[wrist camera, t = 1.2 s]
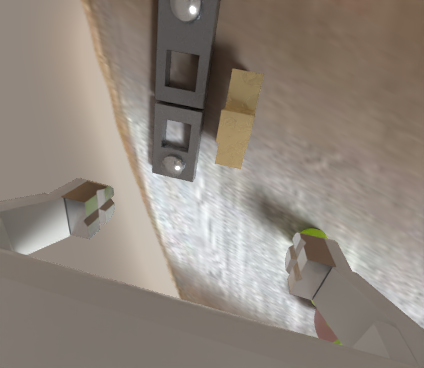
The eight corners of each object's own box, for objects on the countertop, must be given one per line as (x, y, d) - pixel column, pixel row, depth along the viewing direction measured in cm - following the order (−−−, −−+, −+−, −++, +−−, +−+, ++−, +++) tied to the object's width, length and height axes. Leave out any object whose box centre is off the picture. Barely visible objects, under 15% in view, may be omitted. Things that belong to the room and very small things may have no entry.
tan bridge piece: (236, 70, 32) (229, 66, 23) (262, 75, 32) (265, 73, 23) (221, 150, 38) (210, 173, 29) (242, 155, 38) (238, 180, 29)
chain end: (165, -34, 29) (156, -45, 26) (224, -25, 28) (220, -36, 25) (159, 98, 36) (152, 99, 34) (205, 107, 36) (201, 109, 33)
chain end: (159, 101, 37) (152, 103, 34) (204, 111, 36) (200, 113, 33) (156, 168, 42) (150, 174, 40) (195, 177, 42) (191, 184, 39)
